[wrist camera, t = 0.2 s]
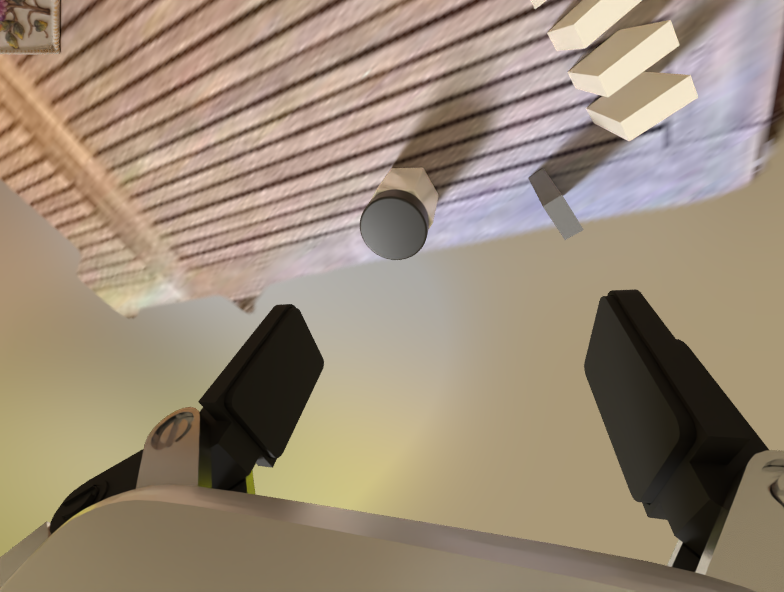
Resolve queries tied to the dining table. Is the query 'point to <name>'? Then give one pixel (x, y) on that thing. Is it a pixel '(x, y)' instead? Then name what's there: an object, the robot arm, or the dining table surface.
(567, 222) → the slate domino
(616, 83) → the ivory domino
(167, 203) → the dining table surface
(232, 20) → the dining table surface
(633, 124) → the ivory domino
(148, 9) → the dining table surface
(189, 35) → the dining table surface
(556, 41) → the ivory domino
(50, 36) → the decorative jar
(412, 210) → the jar
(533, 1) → the ivory domino
